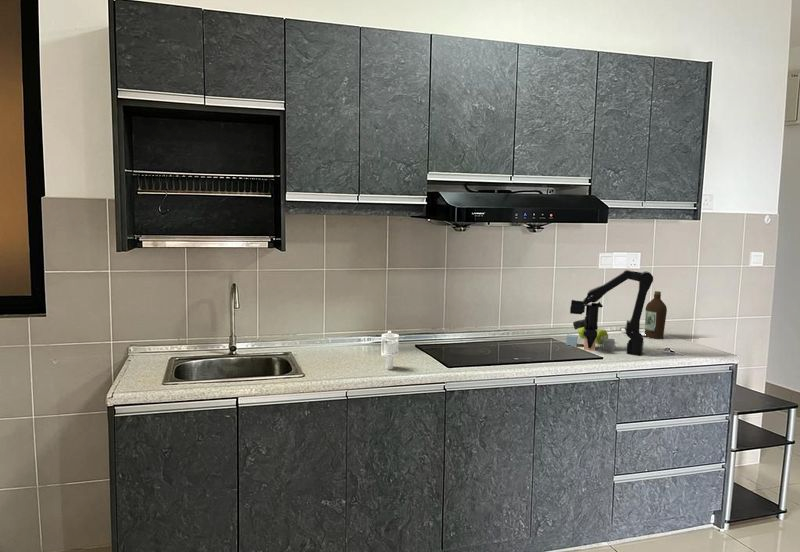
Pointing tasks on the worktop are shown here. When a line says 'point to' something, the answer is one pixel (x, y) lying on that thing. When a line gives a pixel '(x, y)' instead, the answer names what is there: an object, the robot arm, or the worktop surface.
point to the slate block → (571, 340)
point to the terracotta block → (587, 345)
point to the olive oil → (655, 317)
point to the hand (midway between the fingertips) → (589, 346)
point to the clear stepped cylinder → (389, 348)
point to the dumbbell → (600, 335)
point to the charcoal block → (608, 344)
